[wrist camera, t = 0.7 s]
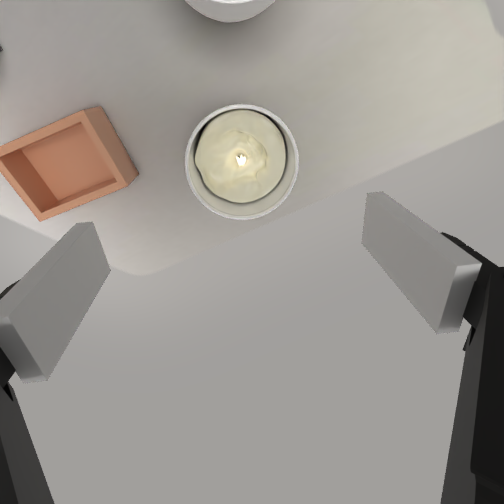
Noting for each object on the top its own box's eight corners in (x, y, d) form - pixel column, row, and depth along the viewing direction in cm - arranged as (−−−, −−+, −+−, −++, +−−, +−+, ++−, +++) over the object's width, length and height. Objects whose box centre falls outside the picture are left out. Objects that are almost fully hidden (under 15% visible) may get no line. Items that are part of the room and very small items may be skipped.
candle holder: (215, 194, 40) (212, 234, 29) (181, 116, 35) (163, 131, 25) (288, 167, 39) (311, 198, 28) (262, 83, 34) (280, 83, 24)
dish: (15, 143, 35) (-15, 152, 31) (100, 106, 34) (82, 109, 30) (60, 206, 39) (39, 221, 35) (139, 173, 38) (127, 185, 33)
